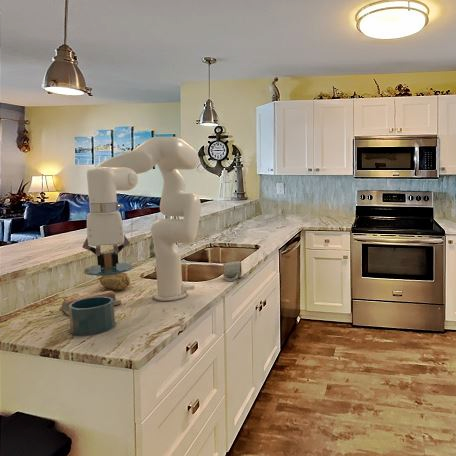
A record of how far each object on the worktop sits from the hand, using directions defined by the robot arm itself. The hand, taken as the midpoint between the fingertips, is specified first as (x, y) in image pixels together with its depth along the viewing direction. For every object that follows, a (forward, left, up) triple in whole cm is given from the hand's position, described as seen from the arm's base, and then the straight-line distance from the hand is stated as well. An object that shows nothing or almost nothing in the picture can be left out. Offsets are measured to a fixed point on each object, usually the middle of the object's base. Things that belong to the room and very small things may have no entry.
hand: (108, 266), depth 129 cm
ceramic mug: (-51, -43, -21) cm, 70 cm away
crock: (+6, -5, -21) cm, 22 cm away
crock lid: (0, 0, -1) cm, 1 cm away
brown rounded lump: (-2, -53, -21) cm, 57 cm away
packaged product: (+7, -28, -21) cm, 36 cm away
